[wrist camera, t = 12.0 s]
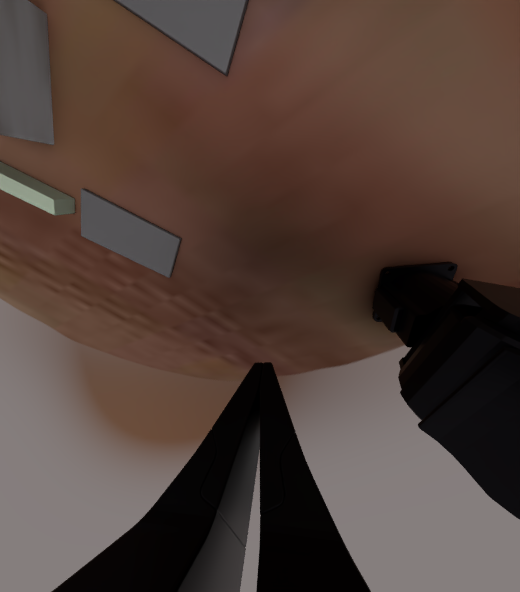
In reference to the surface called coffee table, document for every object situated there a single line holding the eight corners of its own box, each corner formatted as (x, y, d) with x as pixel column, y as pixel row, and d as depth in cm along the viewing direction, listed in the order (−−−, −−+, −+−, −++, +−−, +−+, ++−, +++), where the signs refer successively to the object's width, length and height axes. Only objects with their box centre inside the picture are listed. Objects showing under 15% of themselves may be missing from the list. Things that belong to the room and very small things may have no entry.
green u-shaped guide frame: (258, -35, 11) (253, -77, 9) (170, 276, 22) (161, 283, 20) (-405, -557, 7) (-628, -799, 5) (-106, 144, 18) (-147, 139, 16)
